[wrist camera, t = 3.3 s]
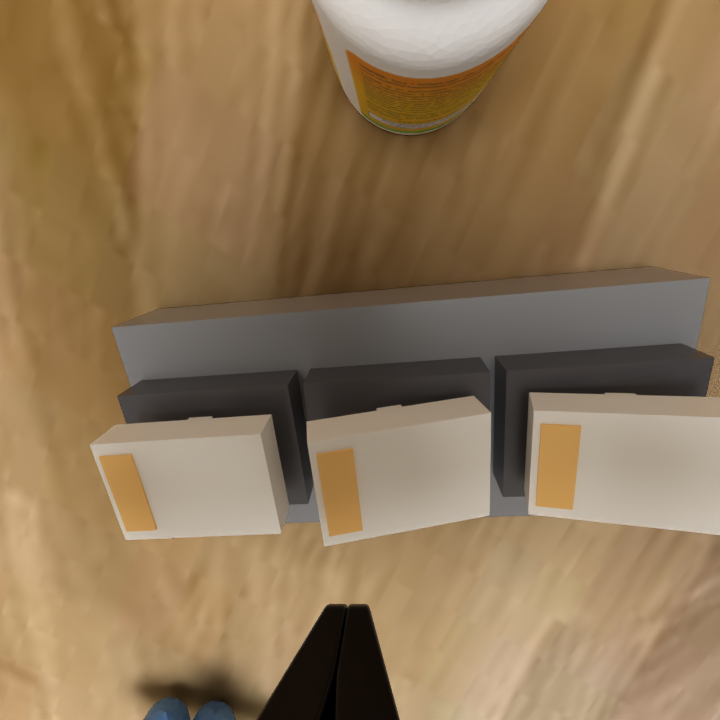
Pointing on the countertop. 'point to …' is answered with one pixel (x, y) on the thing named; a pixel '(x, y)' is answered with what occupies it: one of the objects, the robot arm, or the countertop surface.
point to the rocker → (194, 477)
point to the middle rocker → (400, 468)
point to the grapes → (173, 715)
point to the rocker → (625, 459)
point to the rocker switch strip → (418, 358)
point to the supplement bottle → (419, 54)
